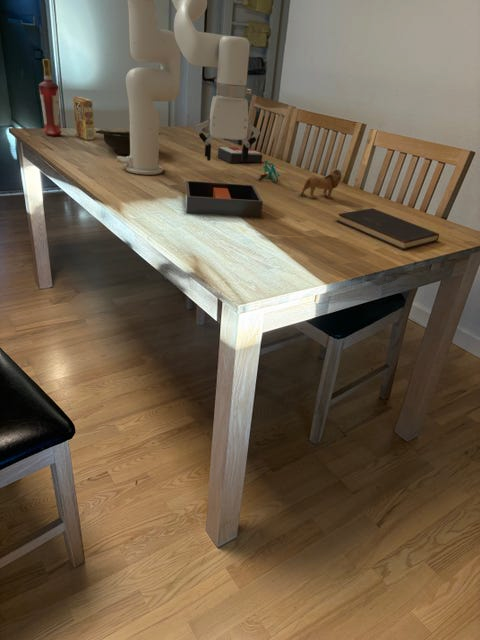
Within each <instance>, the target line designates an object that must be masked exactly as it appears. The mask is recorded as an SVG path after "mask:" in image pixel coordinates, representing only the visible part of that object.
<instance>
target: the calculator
mask: <svg viewBox="0 0 480 640" xmlns="http://www.w3.org/2000/svg"><path fill="white" fill-rule="evenodd" d="M217 150H218V151H217V158H219V159H221V160H223V161H225V162H228V163H230V164H239V163H243V162H242V161H241V158H242V147H233V146H229V147H226V146H222V147H221V146H220V147H218V149H217ZM262 162H263V154H262V153H261V152H259V151H256V150H254V149H252V148H249V150H248V159H246V160H245V163H260V164H261V163H262Z"/></svg>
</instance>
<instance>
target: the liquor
mask: <svg viewBox="0 0 480 640" xmlns="http://www.w3.org/2000/svg"><path fill="white" fill-rule="evenodd" d="M42 66H43V75H44V76H43V81H42V82H40V83H39V84H38V88H39V90H38V91H39V97H40V103H41V109H42V116H43V124H44V131H43V132H44V134H46V135H47V136H49V137H59V136H60V135H61V134H62V130H61V120H60V94H59V93H60V91H59V85H58V84H56V83H55V82H54V81H53V78H52V72H51V60H50V59H46V58H43V59H42Z"/></svg>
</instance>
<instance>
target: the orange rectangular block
mask: <svg viewBox="0 0 480 640" xmlns="http://www.w3.org/2000/svg"><path fill="white" fill-rule="evenodd" d="M213 198H226V199H231V197H230V194H229V191H228V189H227V188H213Z"/></svg>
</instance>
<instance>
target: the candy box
mask: <svg viewBox="0 0 480 640" xmlns="http://www.w3.org/2000/svg"><path fill="white" fill-rule="evenodd" d="M72 99H73V111H74V121H75V131H76V132H75V135H76V137H79V138H81V139H84V140H86V141H88V140H89V141H90V140H95V139H96V137H95V123H94V108H93V106H94V105H93V100H92V99H90V98H86V97H83V96H73V98H72Z"/></svg>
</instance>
